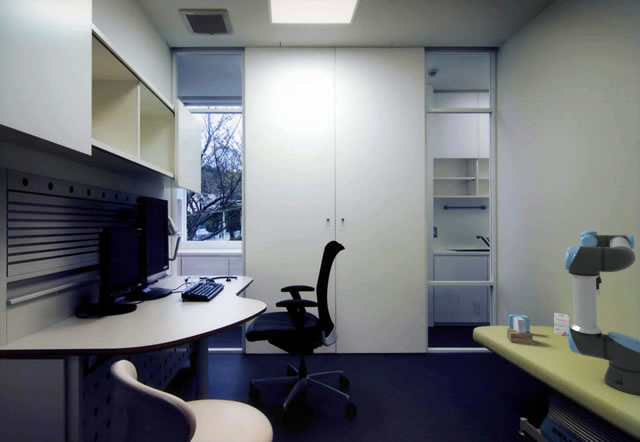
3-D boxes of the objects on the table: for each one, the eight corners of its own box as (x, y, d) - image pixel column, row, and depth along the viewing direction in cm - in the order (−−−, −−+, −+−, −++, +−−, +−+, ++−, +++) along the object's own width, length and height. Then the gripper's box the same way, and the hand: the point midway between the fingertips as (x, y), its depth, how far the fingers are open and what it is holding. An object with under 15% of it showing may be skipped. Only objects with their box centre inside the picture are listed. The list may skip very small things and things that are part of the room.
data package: (529, 333, 214) (529, 316, 214) (530, 335, 210) (529, 317, 210) (509, 330, 220) (508, 313, 220) (509, 332, 216) (509, 315, 216)
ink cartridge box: (571, 335, 209) (570, 313, 210) (569, 337, 206) (569, 315, 206) (555, 332, 216) (555, 311, 216) (554, 333, 212) (553, 312, 213)
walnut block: (532, 344, 192) (532, 335, 192) (510, 342, 196) (510, 333, 197) (528, 339, 202) (527, 330, 202) (507, 337, 206) (507, 328, 206)
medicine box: (526, 333, 195) (525, 320, 195) (518, 333, 196) (517, 319, 196) (520, 329, 203) (520, 316, 203) (513, 329, 204) (512, 316, 204)
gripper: (573, 255, 196) (573, 288, 196) (592, 258, 173) (593, 296, 172) (587, 255, 194) (588, 289, 193) (608, 259, 170) (609, 297, 170)
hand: (590, 292), depth 183 cm, fingers open, 13 cm apart
